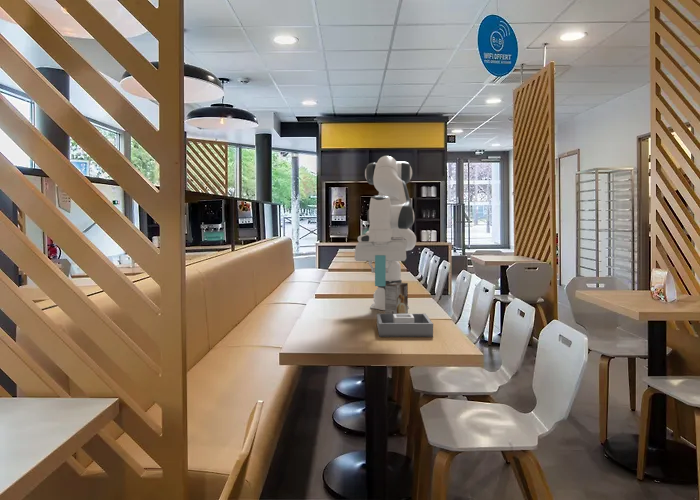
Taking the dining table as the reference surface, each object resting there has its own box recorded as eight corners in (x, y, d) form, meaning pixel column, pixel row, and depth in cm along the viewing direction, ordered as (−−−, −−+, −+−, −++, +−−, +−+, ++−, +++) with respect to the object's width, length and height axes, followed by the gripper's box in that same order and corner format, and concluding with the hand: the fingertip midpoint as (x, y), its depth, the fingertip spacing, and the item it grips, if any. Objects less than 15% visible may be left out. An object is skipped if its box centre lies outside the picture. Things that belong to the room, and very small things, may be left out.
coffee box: (395, 317, 219) (395, 281, 218) (408, 319, 215) (408, 282, 214) (384, 321, 212) (384, 284, 211) (397, 322, 208) (397, 285, 207)
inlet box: (376, 325, 203) (376, 311, 202) (425, 325, 203) (425, 311, 202) (379, 337, 183) (379, 321, 182) (433, 337, 183) (433, 321, 182)
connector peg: (374, 284, 195) (374, 254, 194) (385, 284, 195) (385, 254, 194) (375, 286, 191) (375, 255, 190) (385, 286, 191) (385, 255, 190)
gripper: (406, 236, 194) (406, 271, 195) (354, 236, 195) (354, 271, 196) (407, 237, 188) (407, 273, 189) (354, 237, 189) (354, 273, 190)
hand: (380, 272), depth 192 cm, fingers closed on connector peg, 4 cm apart
